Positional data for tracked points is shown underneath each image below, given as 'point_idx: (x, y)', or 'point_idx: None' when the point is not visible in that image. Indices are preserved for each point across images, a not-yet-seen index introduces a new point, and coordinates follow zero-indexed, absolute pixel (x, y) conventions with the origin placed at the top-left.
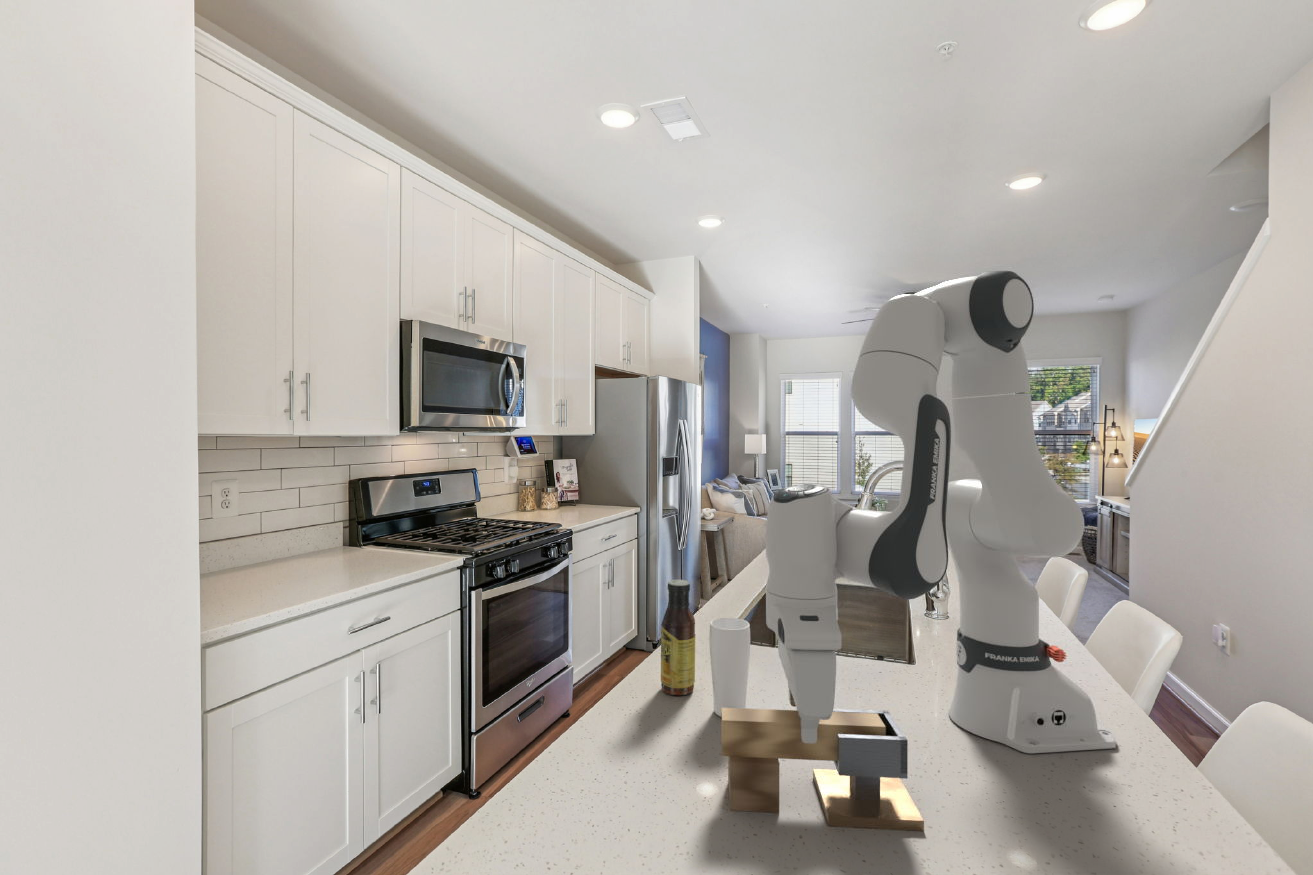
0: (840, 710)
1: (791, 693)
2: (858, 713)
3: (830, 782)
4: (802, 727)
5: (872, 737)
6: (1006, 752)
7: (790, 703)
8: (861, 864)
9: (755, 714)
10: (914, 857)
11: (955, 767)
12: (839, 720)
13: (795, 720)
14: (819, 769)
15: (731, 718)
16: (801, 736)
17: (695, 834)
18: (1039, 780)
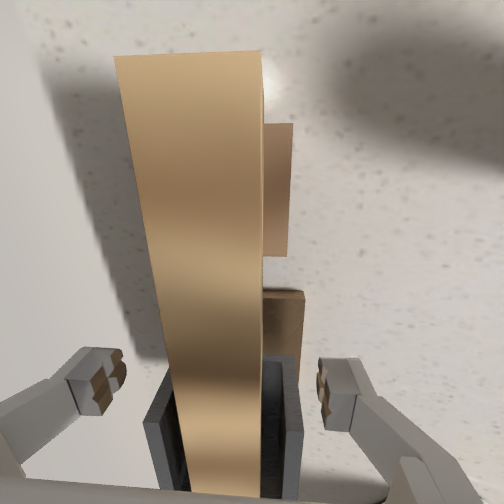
0: (291, 455)
1: (331, 396)
2: (255, 488)
3: (265, 316)
4: (38, 383)
5: (161, 472)
6: (359, 498)
7: (320, 360)
8: (120, 308)
9: (207, 230)
10: (148, 361)
11: (329, 450)
12: (208, 448)
13: (185, 355)
14: (303, 308)
15: (144, 111)
16: (77, 354)
17: (111, 63)
18: (302, 498)
